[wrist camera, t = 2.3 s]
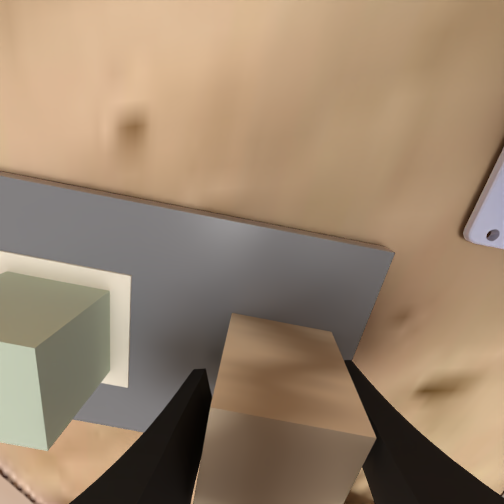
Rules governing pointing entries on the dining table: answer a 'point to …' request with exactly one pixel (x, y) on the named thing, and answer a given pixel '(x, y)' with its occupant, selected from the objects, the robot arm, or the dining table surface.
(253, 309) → the board
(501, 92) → the dining table surface
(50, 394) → the sage base block
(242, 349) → the maple block
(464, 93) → the dining table surface
